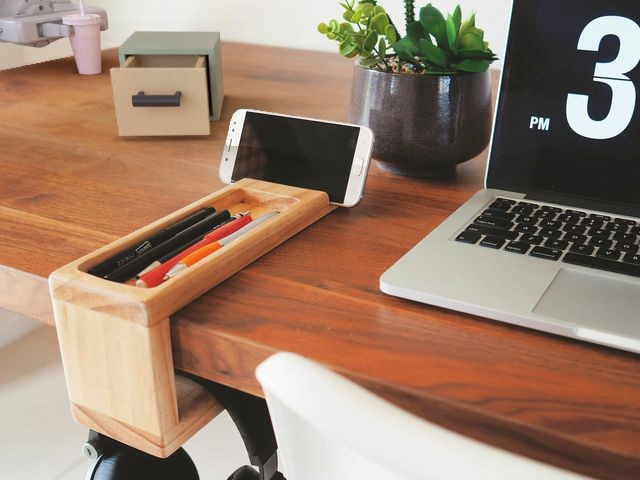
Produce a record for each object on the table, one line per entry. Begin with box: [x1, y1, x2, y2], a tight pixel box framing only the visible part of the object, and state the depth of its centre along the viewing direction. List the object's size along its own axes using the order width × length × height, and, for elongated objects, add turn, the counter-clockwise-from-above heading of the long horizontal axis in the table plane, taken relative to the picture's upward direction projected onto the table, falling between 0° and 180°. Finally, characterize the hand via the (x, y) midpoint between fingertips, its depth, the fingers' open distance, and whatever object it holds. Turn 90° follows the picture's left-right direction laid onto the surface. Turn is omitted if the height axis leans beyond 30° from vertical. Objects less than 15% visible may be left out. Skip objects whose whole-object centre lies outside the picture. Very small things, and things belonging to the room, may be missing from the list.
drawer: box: [109, 54, 211, 137], centre depth 95 cm, size 18×11×8 cm, turn 7°
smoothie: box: [62, 0, 102, 75], centre depth 125 cm, size 6×6×14 cm
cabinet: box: [117, 30, 225, 122], centre depth 105 cm, size 15×13×10 cm
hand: (87, 28), depth 124 cm, fingers closed on smoothie, 6 cm apart
